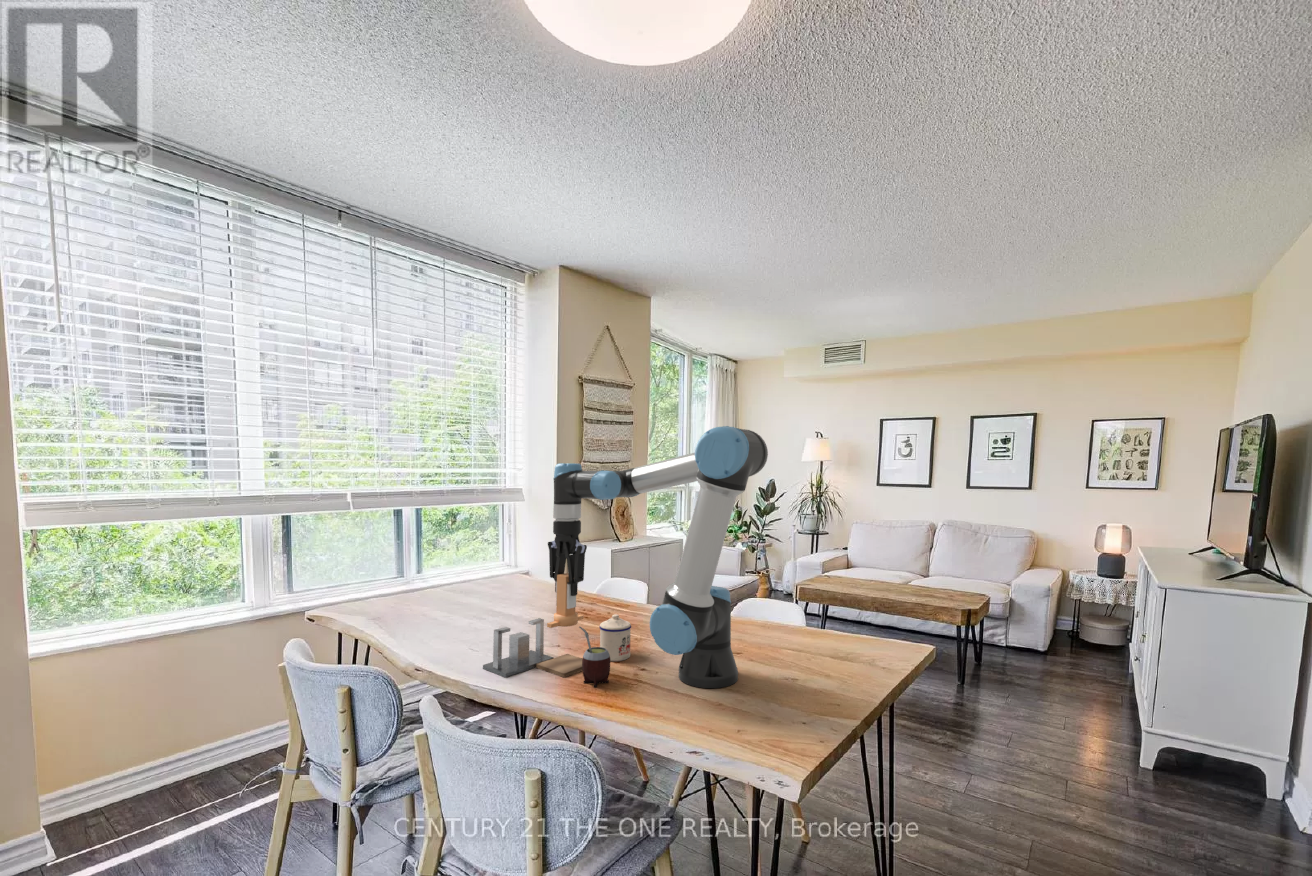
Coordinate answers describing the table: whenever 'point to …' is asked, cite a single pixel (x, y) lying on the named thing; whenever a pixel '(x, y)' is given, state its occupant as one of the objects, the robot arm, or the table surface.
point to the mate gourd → (595, 664)
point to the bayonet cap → (564, 606)
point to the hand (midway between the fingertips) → (565, 606)
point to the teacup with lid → (616, 638)
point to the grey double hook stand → (517, 651)
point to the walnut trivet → (562, 665)
